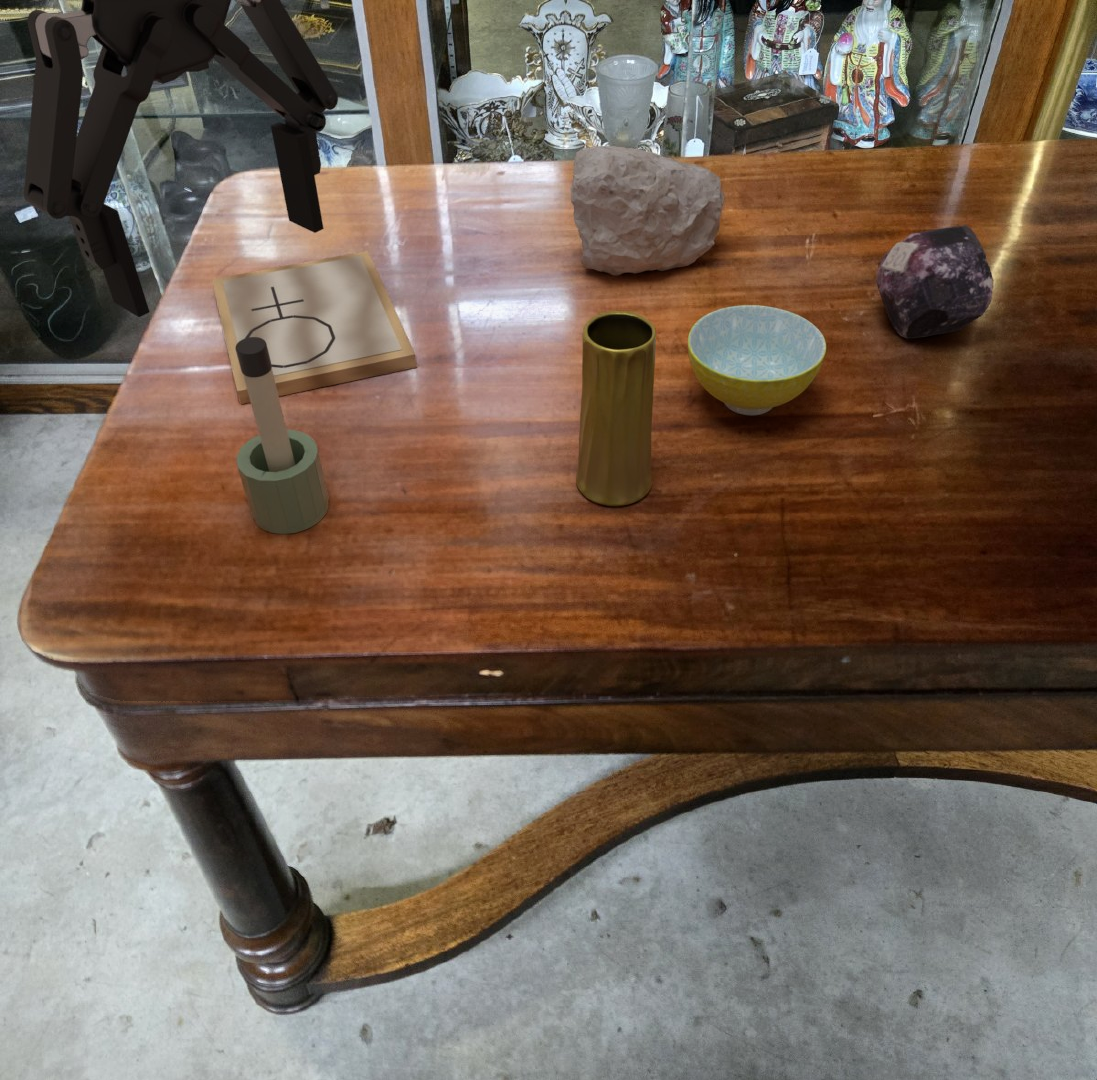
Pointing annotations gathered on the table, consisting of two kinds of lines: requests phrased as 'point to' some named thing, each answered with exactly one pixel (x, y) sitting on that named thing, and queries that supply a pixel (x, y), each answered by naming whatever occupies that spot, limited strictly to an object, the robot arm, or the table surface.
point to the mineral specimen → (935, 282)
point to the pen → (265, 402)
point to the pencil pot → (284, 486)
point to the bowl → (755, 356)
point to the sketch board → (315, 322)
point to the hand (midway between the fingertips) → (223, 264)
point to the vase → (616, 408)
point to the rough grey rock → (642, 209)
